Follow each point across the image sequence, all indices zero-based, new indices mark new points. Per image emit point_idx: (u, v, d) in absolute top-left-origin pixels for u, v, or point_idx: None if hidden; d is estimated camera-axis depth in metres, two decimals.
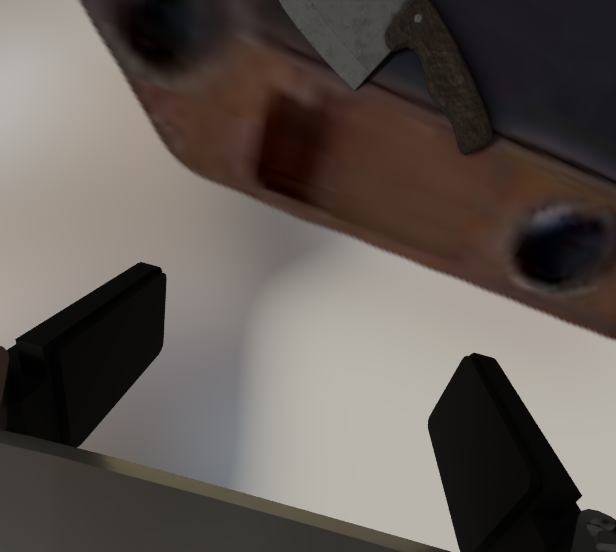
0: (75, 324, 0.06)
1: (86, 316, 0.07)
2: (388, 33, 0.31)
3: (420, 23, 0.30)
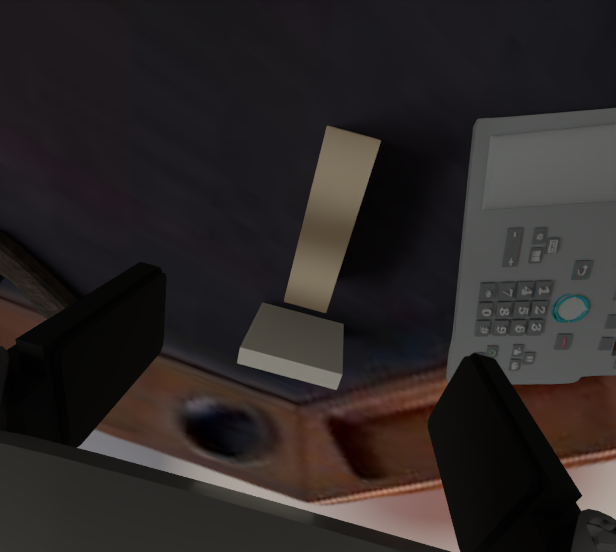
0: (74, 324, 0.06)
1: (86, 316, 0.07)
2: None
3: None
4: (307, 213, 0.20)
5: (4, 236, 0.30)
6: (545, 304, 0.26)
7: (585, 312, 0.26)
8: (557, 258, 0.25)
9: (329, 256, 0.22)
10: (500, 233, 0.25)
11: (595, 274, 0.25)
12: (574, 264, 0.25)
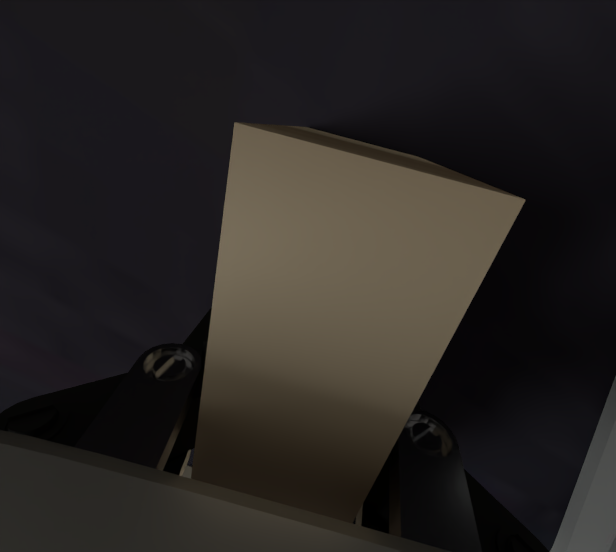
0: None
1: None
2: None
3: None
4: (202, 442, 0.06)
5: None
6: None
7: None
8: None
9: None
10: None
11: None
12: None
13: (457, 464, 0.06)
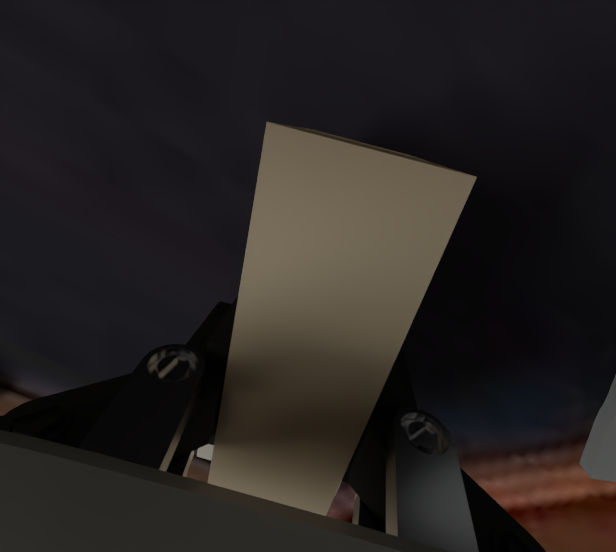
0: None
1: None
2: None
3: None
4: (229, 384, 0.07)
5: None
6: None
7: None
8: None
9: (299, 480, 0.08)
10: None
11: None
12: None
13: (453, 462, 0.06)
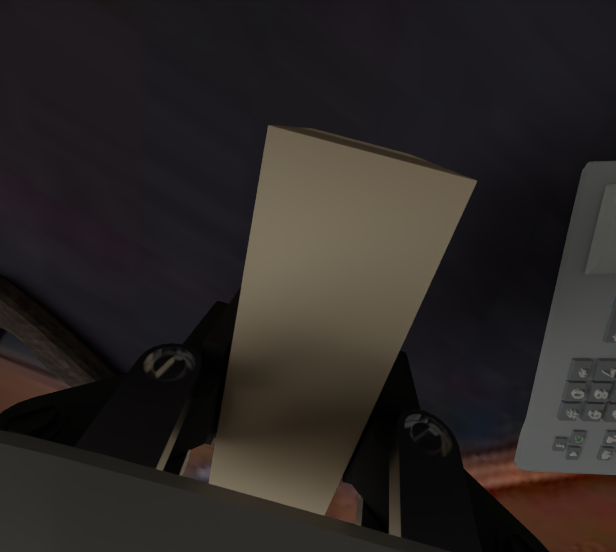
0: None
1: None
2: None
3: None
4: (231, 383, 0.07)
5: (6, 282, 0.25)
6: None
7: None
8: None
9: (299, 477, 0.08)
10: (604, 302, 0.19)
11: None
12: None
13: (457, 464, 0.06)
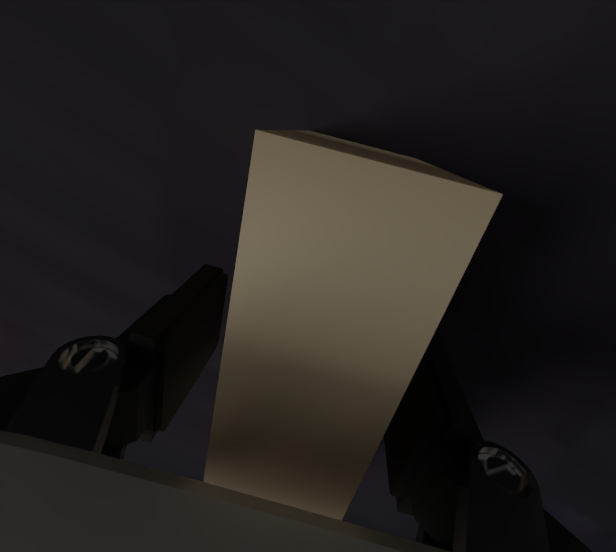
0: (171, 320, 0.07)
1: (178, 313, 0.07)
2: None
3: None
4: (219, 416, 0.06)
5: None
6: None
7: None
8: None
9: None
10: None
11: None
12: None
13: (536, 509, 0.05)
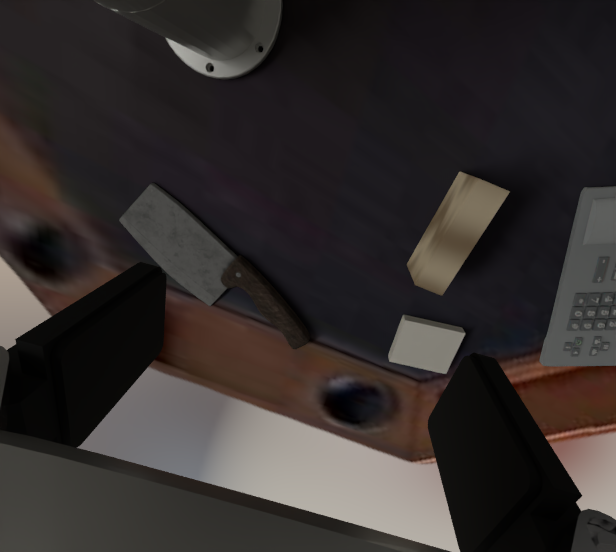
0: (74, 325, 0.06)
1: (86, 316, 0.07)
2: (222, 280, 0.43)
3: (240, 277, 0.42)
4: (449, 229, 0.32)
5: (245, 259, 0.42)
6: None
7: None
8: None
9: (455, 258, 0.33)
10: (593, 260, 0.37)
11: None
12: None
13: None
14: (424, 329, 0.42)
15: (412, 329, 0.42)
